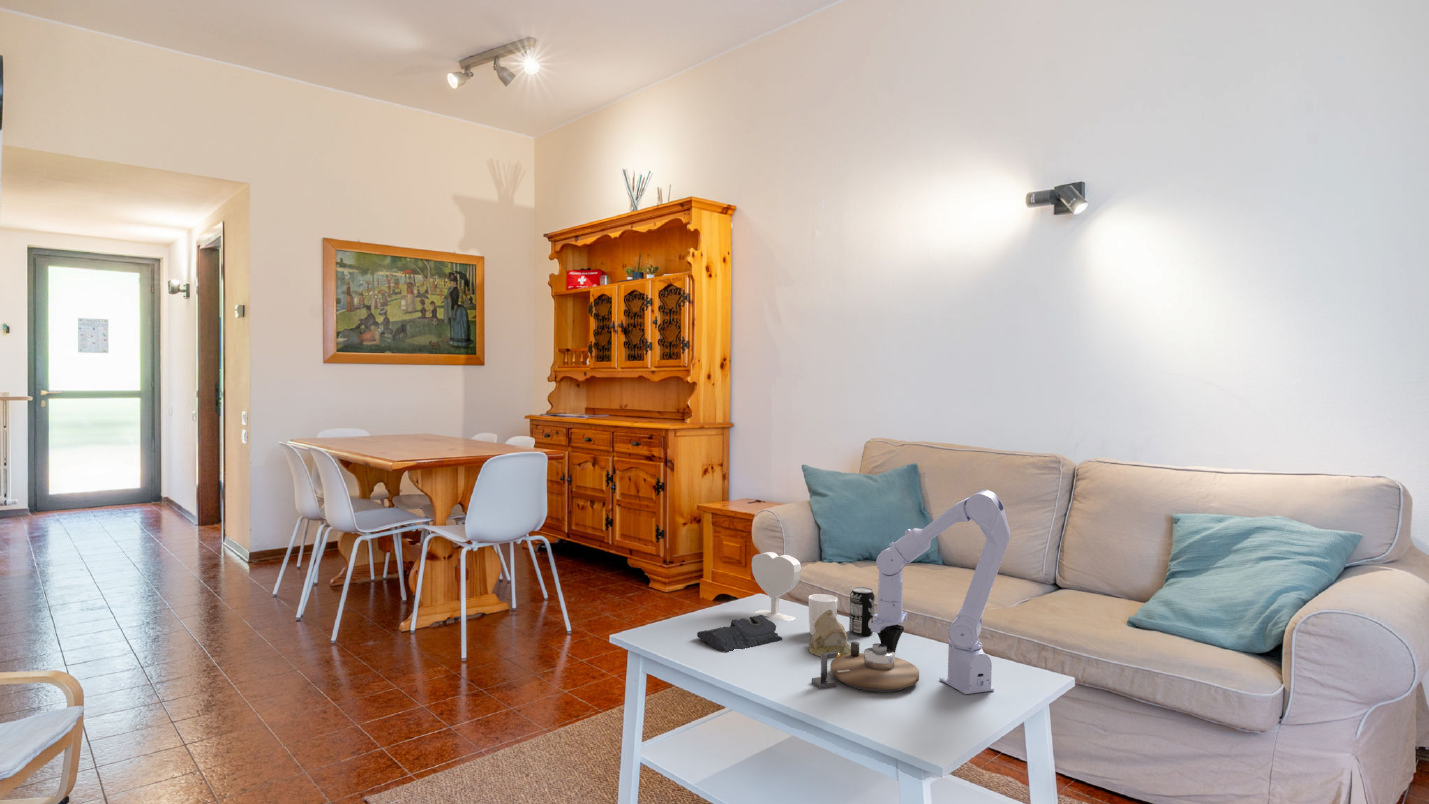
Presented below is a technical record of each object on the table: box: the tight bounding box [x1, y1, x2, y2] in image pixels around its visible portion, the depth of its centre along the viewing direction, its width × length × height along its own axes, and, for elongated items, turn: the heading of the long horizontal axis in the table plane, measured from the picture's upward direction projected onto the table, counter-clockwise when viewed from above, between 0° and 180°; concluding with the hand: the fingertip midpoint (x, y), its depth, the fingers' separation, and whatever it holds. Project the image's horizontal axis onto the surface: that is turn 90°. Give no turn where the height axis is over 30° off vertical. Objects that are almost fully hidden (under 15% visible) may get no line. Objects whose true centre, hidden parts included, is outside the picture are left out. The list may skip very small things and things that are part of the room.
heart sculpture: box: [751, 551, 802, 622], centre depth 228 cm, size 16×5×18 cm, turn 49°
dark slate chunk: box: [696, 614, 783, 653], centre depth 206 cm, size 15×22×5 cm
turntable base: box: [841, 681, 906, 693], centre depth 179 cm, size 16×16×1 cm
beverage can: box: [848, 586, 876, 637], centre depth 213 cm, size 7×7×12 cm
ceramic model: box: [809, 610, 851, 659], centre depth 199 cm, size 14×11×10 cm
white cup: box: [807, 593, 838, 636], centre depth 211 cm, size 8×8×10 cm
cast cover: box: [863, 642, 896, 671], centre depth 180 cm, size 7×7×5 cm
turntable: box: [829, 641, 920, 690], centre depth 179 cm, size 20×20×4 cm
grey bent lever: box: [811, 652, 840, 690], centre depth 175 cm, size 4×6×7 cm, turn 110°
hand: (888, 656), depth 184 cm, fingers closed
